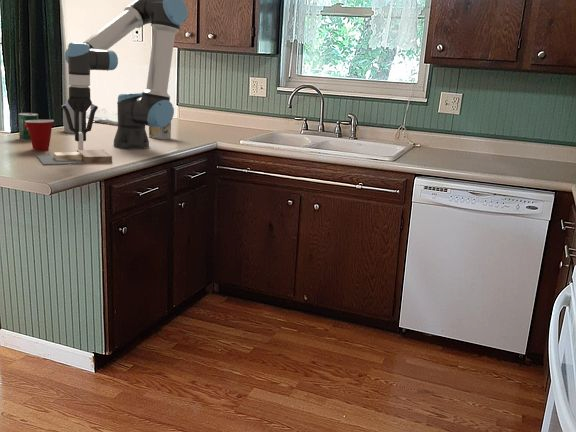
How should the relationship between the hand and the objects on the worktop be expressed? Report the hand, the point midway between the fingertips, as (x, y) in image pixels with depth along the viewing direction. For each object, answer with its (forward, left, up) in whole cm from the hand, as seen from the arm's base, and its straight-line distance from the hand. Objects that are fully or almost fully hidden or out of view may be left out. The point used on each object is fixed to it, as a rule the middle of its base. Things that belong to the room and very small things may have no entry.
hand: (80, 149), depth 228 cm
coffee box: (-47, -50, -4) cm, 68 cm away
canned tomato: (+12, -49, -4) cm, 50 cm away
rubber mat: (+7, 0, -4) cm, 8 cm away
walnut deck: (-5, 0, -4) cm, 6 cm away
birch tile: (+5, 0, -3) cm, 6 cm away
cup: (-11, -71, -4) cm, 71 cm away
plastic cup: (+11, -24, -4) cm, 26 cm away
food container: (-34, -99, -4) cm, 105 cm away
